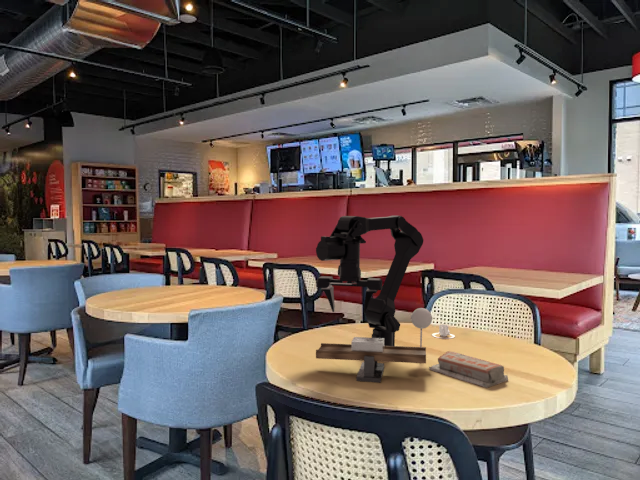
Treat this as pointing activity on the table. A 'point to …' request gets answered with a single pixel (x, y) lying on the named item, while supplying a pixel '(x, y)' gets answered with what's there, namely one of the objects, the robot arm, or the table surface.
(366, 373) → the stand
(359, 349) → the block
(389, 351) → the beam
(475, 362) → the packaged product
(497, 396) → the table surface
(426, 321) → the lollipop
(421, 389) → the table surface
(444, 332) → the teacup and saucer
